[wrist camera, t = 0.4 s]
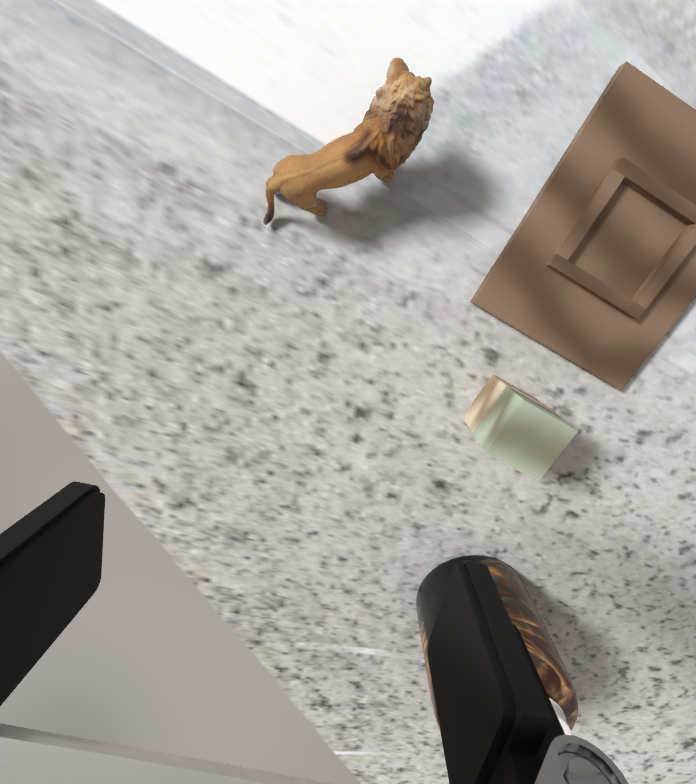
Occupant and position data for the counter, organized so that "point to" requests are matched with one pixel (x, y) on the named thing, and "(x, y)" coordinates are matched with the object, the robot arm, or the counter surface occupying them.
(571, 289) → the walnut socket board
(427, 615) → the jar
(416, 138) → the lion figurine
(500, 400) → the two-tone block
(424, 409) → the counter surface
